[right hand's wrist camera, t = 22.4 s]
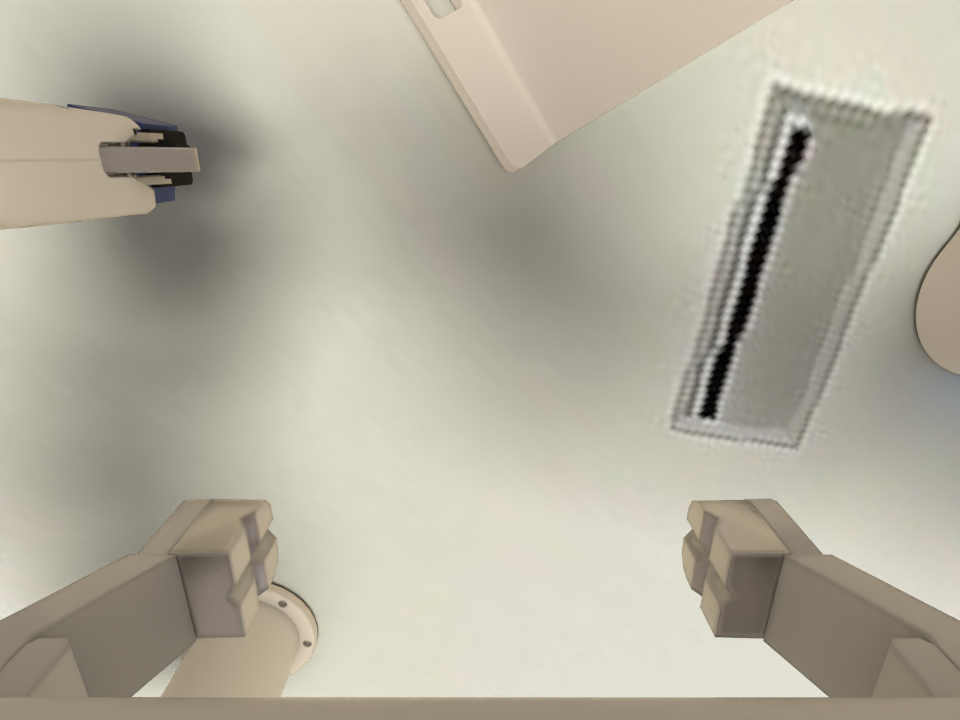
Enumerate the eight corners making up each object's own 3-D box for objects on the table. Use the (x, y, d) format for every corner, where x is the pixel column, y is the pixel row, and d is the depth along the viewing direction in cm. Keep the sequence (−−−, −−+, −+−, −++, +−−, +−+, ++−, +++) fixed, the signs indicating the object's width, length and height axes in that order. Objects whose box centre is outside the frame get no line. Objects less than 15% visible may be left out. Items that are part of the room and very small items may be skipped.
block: (111, 185, 36) (68, 188, 32) (111, 109, 35) (66, 103, 31) (174, 200, 37) (139, 206, 33) (178, 126, 35) (141, 122, 31)
